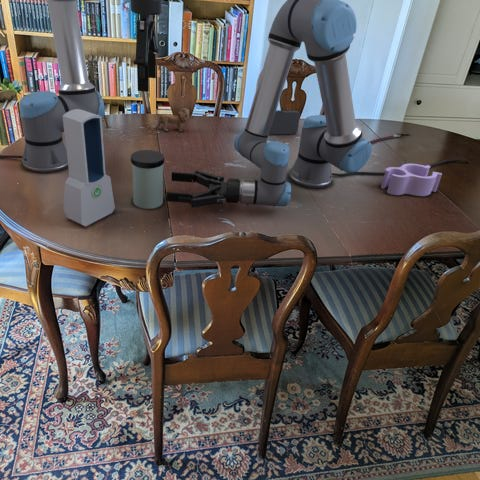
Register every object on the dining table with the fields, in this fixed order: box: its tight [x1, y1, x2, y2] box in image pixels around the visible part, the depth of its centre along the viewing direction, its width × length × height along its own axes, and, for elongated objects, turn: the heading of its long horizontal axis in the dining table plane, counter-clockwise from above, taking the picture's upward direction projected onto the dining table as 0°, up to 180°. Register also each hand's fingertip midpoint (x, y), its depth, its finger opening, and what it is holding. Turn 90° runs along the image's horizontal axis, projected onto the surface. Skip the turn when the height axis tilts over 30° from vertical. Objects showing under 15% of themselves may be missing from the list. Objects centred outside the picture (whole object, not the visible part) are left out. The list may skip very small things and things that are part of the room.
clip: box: [380, 163, 443, 197], centre depth 168 cm, size 20×12×7 cm, turn 109°
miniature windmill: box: [86, 51, 110, 128], centre depth 183 cm, size 9×8×30 cm
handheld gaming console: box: [268, 109, 301, 136], centre depth 202 cm, size 23×3×10 cm, turn 108°
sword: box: [369, 133, 409, 144], centre depth 213 cm, size 31×3×1 cm, turn 126°
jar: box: [131, 163, 164, 210], centre depth 140 cm, size 9×9×15 cm
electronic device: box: [63, 109, 116, 227], centre depth 126 cm, size 12×8×30 cm, turn 148°
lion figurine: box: [154, 107, 190, 132], centre depth 195 cm, size 15×5×9 cm, turn 110°
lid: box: [130, 149, 165, 168], centre depth 136 cm, size 10×10×2 cm
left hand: (147, 84), depth 125 cm, fingers open, 13 cm apart
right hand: (169, 186), depth 141 cm, fingers open, 13 cm apart
